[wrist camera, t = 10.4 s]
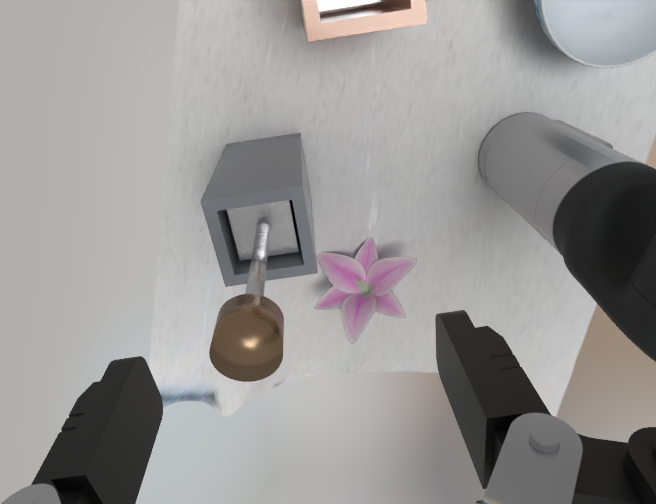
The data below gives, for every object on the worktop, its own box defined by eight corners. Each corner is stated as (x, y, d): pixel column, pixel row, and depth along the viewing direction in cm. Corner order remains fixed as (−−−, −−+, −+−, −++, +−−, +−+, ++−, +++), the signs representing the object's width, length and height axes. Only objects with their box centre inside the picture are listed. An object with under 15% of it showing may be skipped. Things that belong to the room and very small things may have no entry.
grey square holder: (300, 133, 50) (302, 185, 36) (311, 201, 54) (317, 272, 40) (227, 144, 50) (200, 201, 36) (243, 211, 54) (225, 286, 40)
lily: (420, 239, 58) (416, 244, 49) (412, 330, 59) (406, 352, 50) (328, 231, 61) (308, 234, 52) (321, 318, 62) (300, 336, 53)
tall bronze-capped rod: (288, 194, 38) (284, 309, 24) (298, 248, 41) (300, 382, 27) (226, 203, 39) (186, 324, 24) (240, 257, 41) (212, 395, 27)
